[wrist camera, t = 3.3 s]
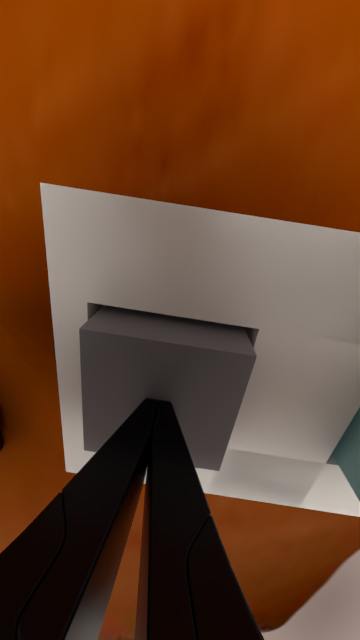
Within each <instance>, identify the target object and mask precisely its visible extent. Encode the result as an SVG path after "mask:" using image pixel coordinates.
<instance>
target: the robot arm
mask: <svg viewBox="0 0 360 640" xmlns="http://www.w3.org/2000/svg"><path fill="white" fill-rule="evenodd" d="M2 449H3V444H2V440H1V436H0V451H1V450H2ZM146 471H147V474H146ZM145 476H146V484H145V497H144V512H143V526H142V541H141V555H140V569H139V584H138V598H137V613H136V627H135V640H264V638H263V636H262V634H261V632H260V629H259V627H258V625H257V623H256V621H255V619H254V616H253V614H252V612H251V610H250V608H249V606H248V603H247V601H246V599H245V597H244V594H243V592H242V590H241V587H240V585H239V583H238V581H237V578H236V576H235V574H234V571H233V569H232V567H231V564H230V562H229V559H228V557H227V554H226V551H225V549H224V546H223V544H222V541H221V538H220V536H219V533H218V530H217V527H216V525H215V522H214V519H213V516H211V515H210V514H211V511H210V508H209V506H208V503H207V500H206V497H205V494H204V492H203V489H202V486H201V483H200V480H199V478H198V475H197V472H196V469H195V466H194V463H193V461H192V458H191V455H190V452H189V449H188V447H187V444H186V441H185V438H184V435H183V433H182V430H181V427H180V424H179V421H178V419H177V416H176V413H175V410H174V407H173V405H172V403H171V402H170V401H165V400H159V401H158V400H157V399H152V398H145V399H144V400H143V401H142V402H141V404H140V405H139V406H138V407H137V408H136V409H135V410H134V411H133V412H132V413H131V415H130V416H129V417H128V418H127V419H126V420H125V421H124V422H123V423H122V424H121V426H120V427H119V428H118V429H117V430H116V431H115V432H114V433H113V434H112V435H111V437H110V438H109V439H108V440H107V441H106V442H105V443H104V444H103V445H102V446H101V448H100V449H99V450H98V451H97V452H96V453H95V454H94V455H93V456H92V457H91V459H90V460H89V461H88V462H87V463H86V464H85V465H84V466H83V467H82V468H81V470H80V471H79V472H78V473H77V474H76V475H75V476H74V477H73V478H72V479H71V481H70V482H69V483H68V484H67V485H66V486H65V487H64V488H63V490H62V493H61V492H60V493H58V495H57V496H56V497H55V498H54V499H53V500H52V501H51V502H50V503H49V505H48V506H47V507H46V508H45V509H44V510H43V511H42V512H41V513H40V514H39V515H38V516H37V517H36V518H35V519H34V520H33V522H32V523H31V524H30V525H29V526H28V527H27V528H26V529H25V530H24V531H23V532H22V533H21V534H20V535H19V536H18V537H17V538H16V539H15V540H14V541H13V542H12V543H11V544H10V545H9V546H8V547H7V548H6V549H5V550H4V551H3V552H2V553H0V640H98V637H99V634H100V630H101V627H102V623H103V620H104V617H105V613H106V610H107V606H108V603H109V600H110V596H111V593H112V589H113V586H114V582H115V579H116V576H117V572H118V569H119V565H120V562H121V559H122V555H123V552H124V548H125V545H126V542H127V538H128V535H129V531H130V528H131V525H132V521H133V518H134V514H135V511H136V508H137V504H138V501H139V497H140V494H141V491H142V487H143V484H144V480H145Z"/></svg>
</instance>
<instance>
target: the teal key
mask: <svg viewBox="0 0 360 640" xmlns="http://www.w3.org/2000/svg"><path fill="white" fill-rule="evenodd" d="M332 455H333V457H334V458H335V460H336V462H337V463H338V465H339V467H340V469H341V470H342V472H343V474H344V475H345V477H346V479H347V481H348V482H349V484H350V486H351V488H352V489H353V491H354V493H355V494H356V496H357V498H358V500H359V501H360V407H359V409H358V411H357V412H356V414H355V416H354V417H353V419H352V421H351V422H350V424H349V426H348V427H347V429H346V431H345V432H344V434H343V435H342V437H341V439H340V440H339V442H338V444H337V445H336V447H335V449H334V450H333V452H332Z"/></svg>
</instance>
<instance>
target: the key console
mask: <svg viewBox="0 0 360 640" xmlns="http://www.w3.org/2000/svg"><path fill="white" fill-rule="evenodd" d="M40 189H41V200H42V211H43V222H44V233H45V244H46V255H47V267H48V278H49V289H50V300H51V311H52V322H53V333H54V344H55V355H56V366H57V377H58V388H59V399H60V410H61V421H62V432H63V443H64V454H65V465H66V472H72V473H78V472H79V471H80V470H81V468H82V467H83V466H84V465H85V464H86V463H87V462H88V461H89V460H90V459H91V457H92V456H93V455H94V454H95V453H96V452H91V451H85V450H84V440H83V415H82V389H81V364H80V339H79V328H80V327H81V326H83V325H84V324H85V323H86V322H87V321H88V320H89V319H90V318H91V317H92V316H93V315H94V314H95V313H96V312H97V311H98V310H99V309H100V308H102V307H103V306H104V305H108V306H114V307H120V308H127V309H133V310H140V311H146V312H153V313H159V314H165V315H172V316H178V317H185V318H191V319H198V320H204V321H211V322H217V323H223V324H230V325H236V326H243V327H244V329H245V331H246V333H247V335H248V338H249V340H250V342H251V344H252V347H253V349H254V351H255V353H256V355H257V358H256V361H255V364H254V367H253V370H252V373H251V376H250V379H249V382H248V385H247V388H246V391H245V394H244V397H243V400H242V403H241V406H240V409H239V412H238V415H237V418H236V422H235V425H234V428H233V431H232V434H231V437H230V440H229V443H228V446H227V449H226V452H225V455H224V458H223V461H222V464H221V467H220V470H219V471H214V470H208V469H201V468H195V469H196V472H197V475H198V478H199V480H200V483H201V486H202V489H203V492H204V493H208V494H215V495H221V496H228V497H234V498H241V499H247V500H254V501H260V502H267V503H273V504H280V505H286V506H293V507H299V508H306V509H312V510H319V511H325V512H332V513H338V514H345V515H351V516H358V517H360V501H359V500H358V498H357V496H356V494H355V493H354V491H353V489H352V488H351V486H350V484H349V482H348V481H347V479H346V477H345V475H344V474H343V472H342V470H341V469H340V467H339V465H338V463H337V462H336V460H335V458H334V457H333V455H332V452H333V450H334V449H335V447H336V445H337V444H338V442H339V440H340V439H341V437H342V435H343V434H344V432H345V431H346V429H347V427H348V426H349V424H350V422H351V421H352V419H353V417H354V416H355V414H356V412H357V411H358V409H359V407H360V233H359V232H352V231H346V230H340V229H333V228H327V227H320V226H314V225H308V224H301V223H295V222H289V221H282V220H276V219H269V218H263V217H257V216H250V215H244V214H237V213H231V212H225V211H218V210H212V209H205V208H199V207H193V206H186V205H180V204H173V203H167V202H161V201H154V200H148V199H142V198H135V197H129V196H122V195H116V194H110V193H103V192H97V191H90V190H84V189H78V188H71V187H65V186H58V185H52V184H46V183H40ZM146 474H147V471H146ZM144 484H146V476H145V480H144Z"/></svg>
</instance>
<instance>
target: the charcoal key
mask: <svg viewBox="0 0 360 640" xmlns="http://www.w3.org/2000/svg"><path fill="white" fill-rule="evenodd" d="M79 339H80V364H81V389H82V415H83V440H84V450H85V451H91V452H97V451H98V450H99V449H100V448H101V446H102V445H103V444H104V443H105V442H106V441H107V440H108V439H109V438H110V437H111V435H112V434H113V433H114V432H115V431H116V430H117V429H118V428H119V427H120V426H121V424H122V423H123V422H124V421H125V420H126V419H127V418H128V417H129V416H130V415H131V413H132V412H133V411H134V410H135V409H136V408H137V407H138V406H139V405H140V404H141V402H142V401H143V400H144V399H145V398H152V399H157V400H158V401H159V400H165V401H170V402H171V403H172V405H173V407H174V410H175V413H176V416H177V419H178V421H179V424H180V427H181V430H182V433H183V435H184V438H185V441H186V444H187V447H188V449H189V452H190V455H191V458H192V461H193V463H194V466H195V468H201V469H208V470H214V471H219V470H220V467H221V464H222V461H223V458H224V455H225V452H226V449H227V446H228V443H229V440H230V437H231V434H232V431H233V428H234V425H235V422H236V418H237V415H238V412H239V409H240V406H241V403H242V400H243V397H244V394H245V391H246V388H247V385H248V382H249V379H250V376H251V373H252V370H253V367H254V364H255V361H256V358H257V355H256V353H255V351H254V349H253V347H252V344H251V342H250V340H249V338H248V335H247V333H246V331H245V329H244V327H243V326H236V325H230V324H223V323H217V322H211V321H204V320H198V319H191V318H185V317H178V316H172V315H165V314H159V313H153V312H146V311H140V310H133V309H127V308H120V307H114V306H108V305H104V306H103V307H102V308H100V309H99V310H98V311H97V312H96V313H95V314H94V315H93V316H92V317H91V318H90V319H89V320H88V321H87V322H86V323H85V324H84V325H83V326H81V327H80V328H79Z"/></svg>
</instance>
